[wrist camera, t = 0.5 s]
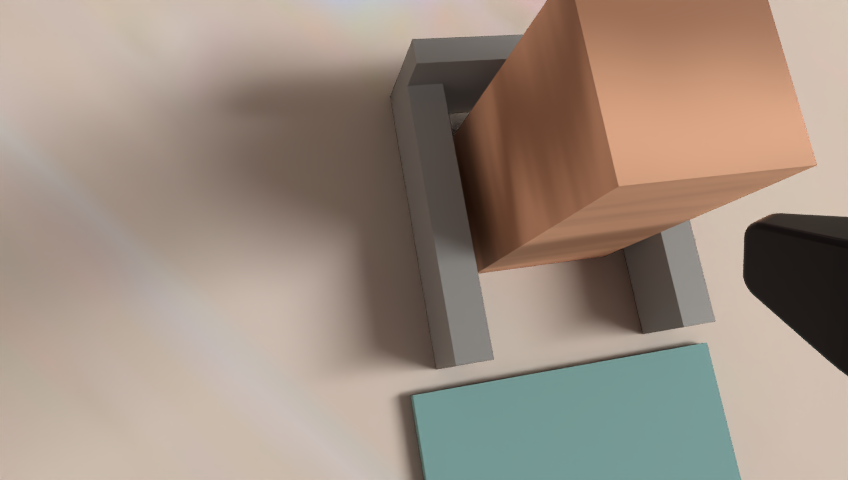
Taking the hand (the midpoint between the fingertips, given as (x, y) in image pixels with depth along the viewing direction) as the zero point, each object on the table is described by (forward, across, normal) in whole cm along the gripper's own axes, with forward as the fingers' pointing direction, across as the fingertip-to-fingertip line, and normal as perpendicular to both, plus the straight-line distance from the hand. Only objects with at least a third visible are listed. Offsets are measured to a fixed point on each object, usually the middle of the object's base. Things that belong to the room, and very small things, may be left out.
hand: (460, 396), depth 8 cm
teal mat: (+7, -6, +14) cm, 17 cm away
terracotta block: (+14, -9, +6) cm, 17 cm away
